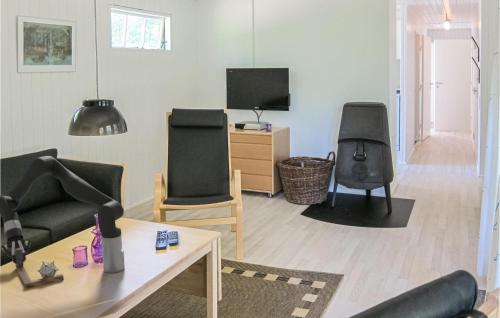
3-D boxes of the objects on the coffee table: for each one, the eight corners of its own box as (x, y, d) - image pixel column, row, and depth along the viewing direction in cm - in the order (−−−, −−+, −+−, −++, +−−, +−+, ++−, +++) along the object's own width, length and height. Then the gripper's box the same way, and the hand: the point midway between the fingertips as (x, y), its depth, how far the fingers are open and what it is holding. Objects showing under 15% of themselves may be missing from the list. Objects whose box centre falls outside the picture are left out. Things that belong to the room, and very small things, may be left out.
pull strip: (50, 261, 246) (49, 242, 244) (63, 279, 224) (62, 258, 222) (16, 268, 237) (14, 248, 235) (26, 288, 215) (23, 266, 213)
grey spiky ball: (50, 287, 225) (44, 276, 218) (36, 278, 228) (31, 267, 220) (64, 272, 231) (59, 261, 223) (51, 264, 233) (46, 253, 226)
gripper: (-3, 230, 235) (4, 262, 228) (29, 224, 243) (36, 255, 235) (-3, 237, 241) (3, 269, 233) (28, 232, 248) (35, 262, 241)
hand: (20, 262), depth 234 cm, fingers closed on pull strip, 3 cm apart
